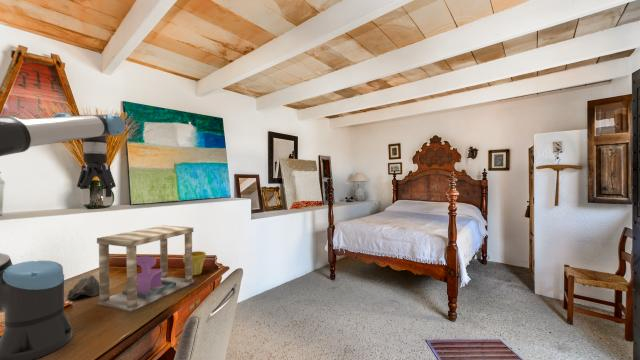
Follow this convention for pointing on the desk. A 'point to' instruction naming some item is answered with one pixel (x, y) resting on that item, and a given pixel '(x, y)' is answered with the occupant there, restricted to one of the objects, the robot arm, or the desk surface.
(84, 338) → the desk surface
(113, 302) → the canopy shelf
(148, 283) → the toy chair
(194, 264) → the plant pot
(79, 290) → the fossil
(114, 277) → the desk surface
